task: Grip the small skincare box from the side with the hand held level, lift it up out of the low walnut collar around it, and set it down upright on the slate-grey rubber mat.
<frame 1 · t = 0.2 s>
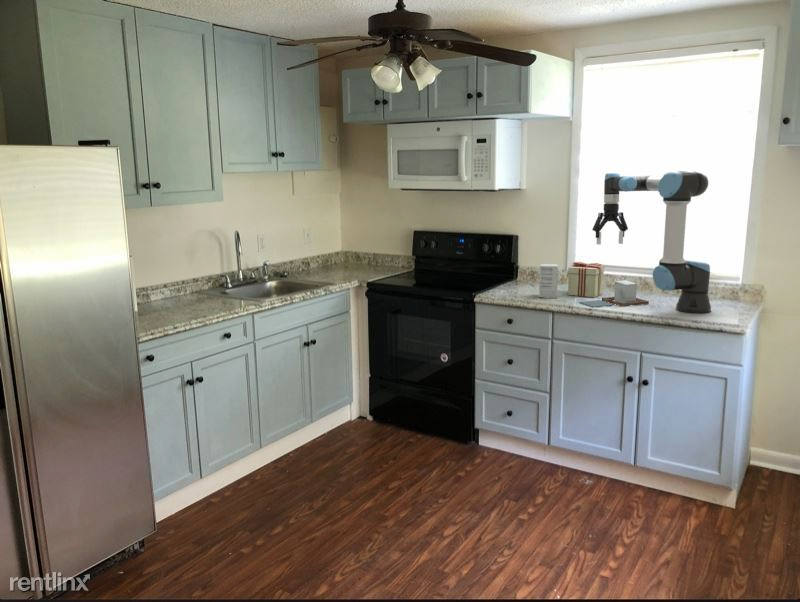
hand: (609, 244, 352), 27 cm above the worktop, tool pointing down, fingers open, 13 cm apart
supplement box: (547, 296, 354), on the worktop
rubber mat: (596, 304, 332), on the worktop
skincare box: (624, 303, 336), resting in walnut collar
gift box: (584, 294, 360), on the worktop
walnut collar: (624, 302, 336), on the worktop
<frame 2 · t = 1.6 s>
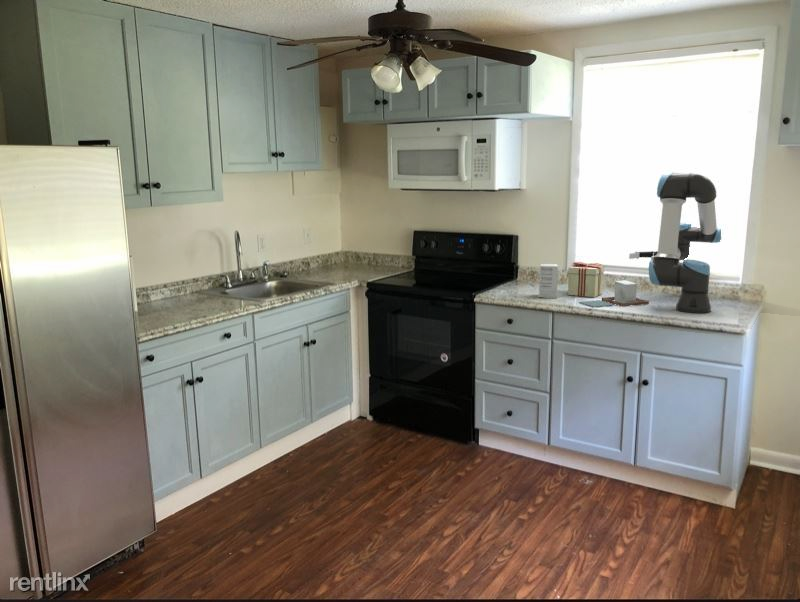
hand: (640, 257, 337), 22 cm above the worktop, tool horizontal, fingers open, 13 cm apart
nothing on the worktop moved.
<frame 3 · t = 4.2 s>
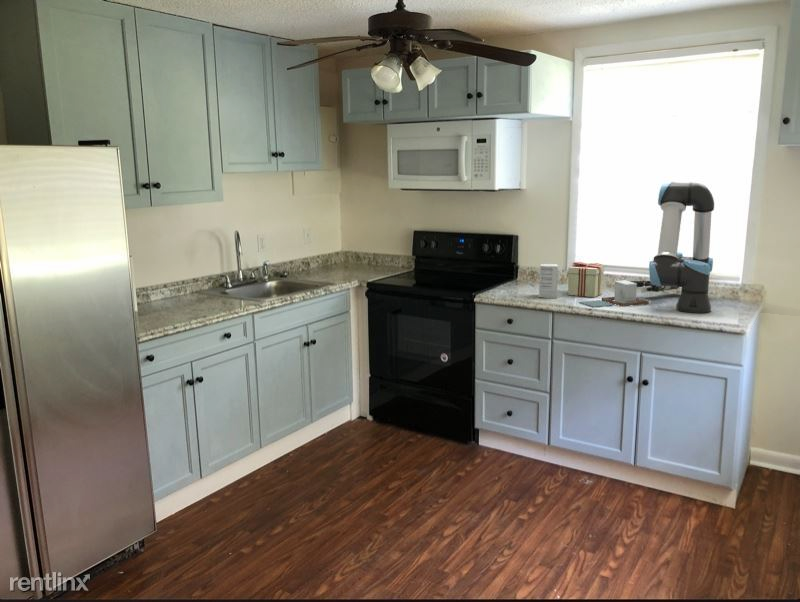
hand: (630, 287, 338), 7 cm above the worktop, tool horizontal, fingers open, 13 cm apart
nothing on the worktop moved.
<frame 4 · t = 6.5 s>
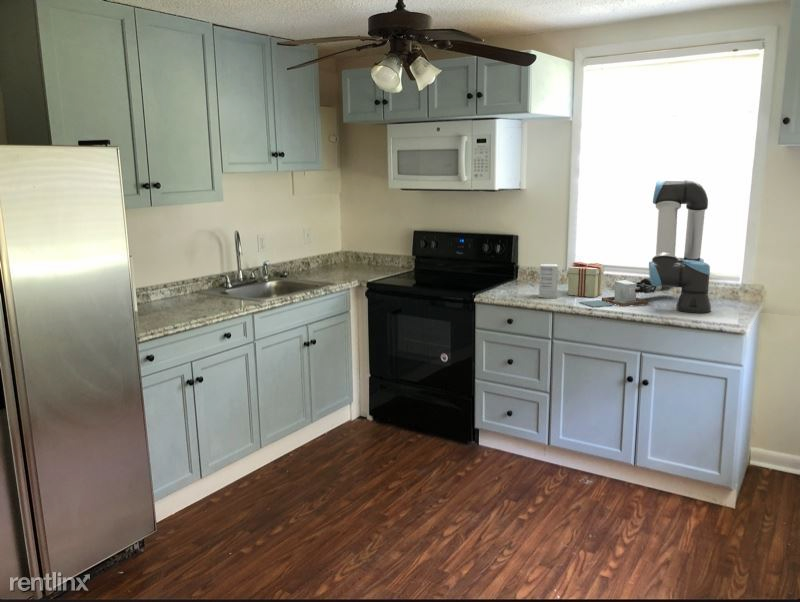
hand: (620, 289, 333), 7 cm above the worktop, tool horizontal, fingers closed on skincare box, 11 cm apart
skincare box: (624, 302, 336), resting in walnut collar, touching gripper
everything else where it was.
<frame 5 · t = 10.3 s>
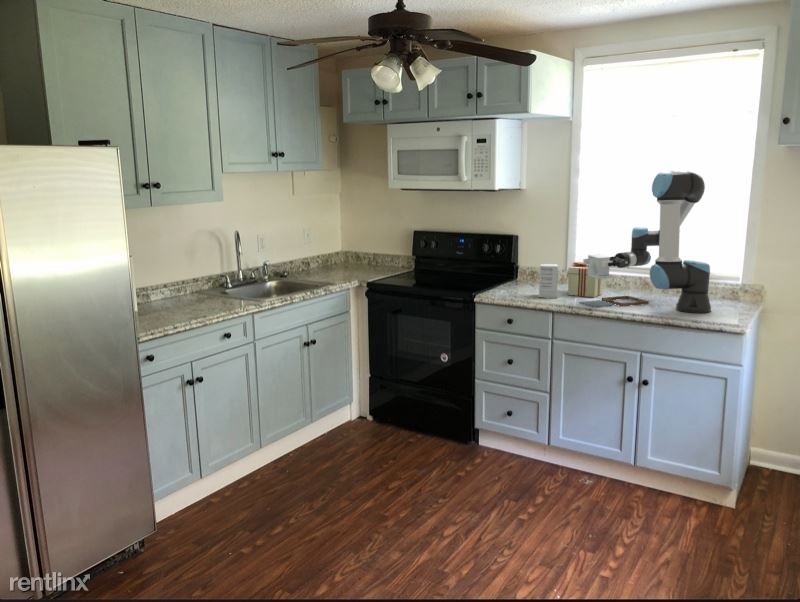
hand: (592, 263, 326), 21 cm above the worktop, tool horizontal, fingers closed on skincare box, 11 cm apart
skincare box: (597, 277, 330), point 14 cm above the worktop, touching gripper
everything else where it was.
when the fingers open (9 cm above the worktop, at t = 14.0 s): skincare box drops 1 cm, resting on rubber mat.
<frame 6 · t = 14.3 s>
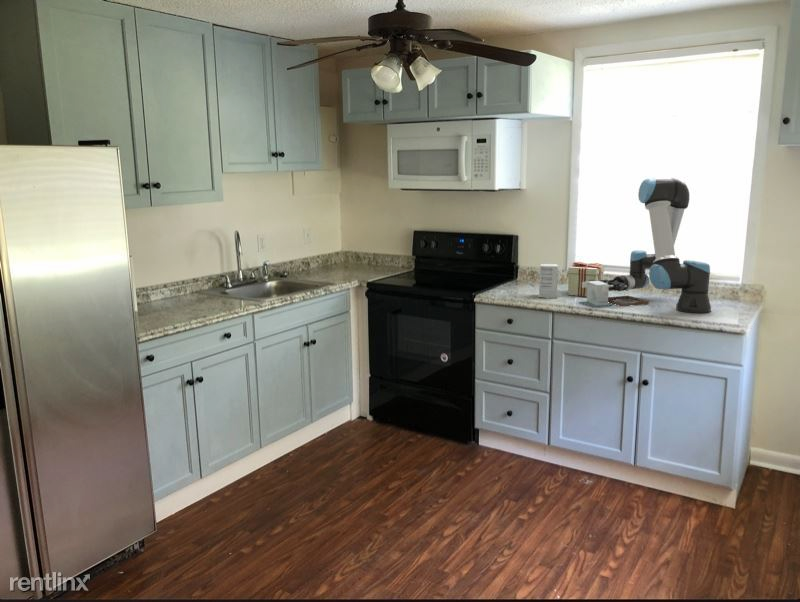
hand: (592, 287, 329), 9 cm above the worktop, tool horizontal, fingers open, 13 cm apart
skincare box: (596, 303, 332), resting on rubber mat
everything else where it was.
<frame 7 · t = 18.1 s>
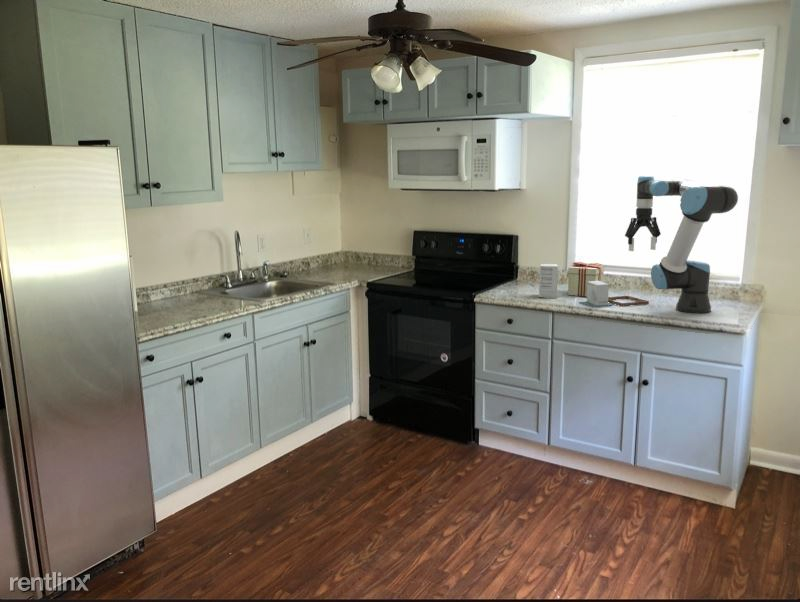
hand: (642, 250, 336), 26 cm above the worktop, tool pointing down, fingers open, 13 cm apart
nothing on the worktop moved.
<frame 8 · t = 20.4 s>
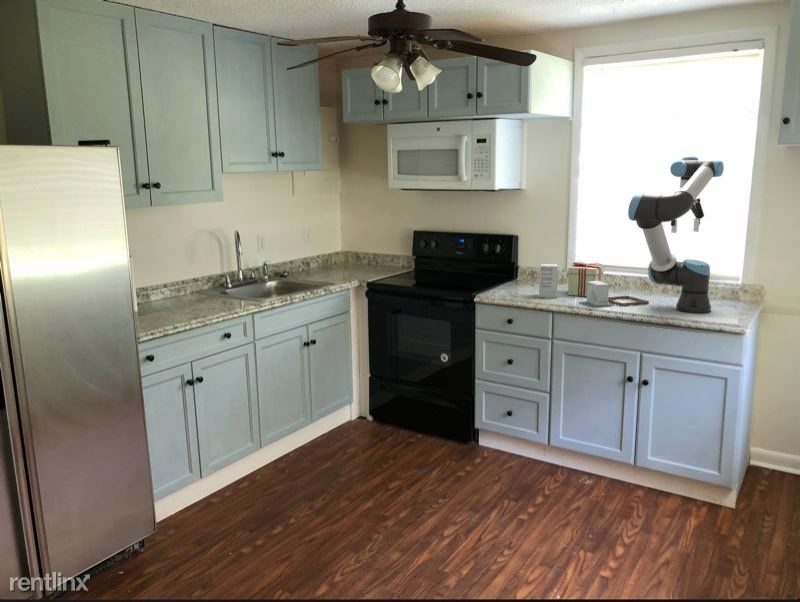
hand: (684, 232, 332), 35 cm above the worktop, tool pointing down, fingers open, 13 cm apart
nothing on the worktop moved.
at the end: skincare box inside the target area on the rubber mat (0.1 cm from its centre), point 0.4 cm above the rubber mat's base; skincare box tilted 0°; the gripper is holding nothing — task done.
